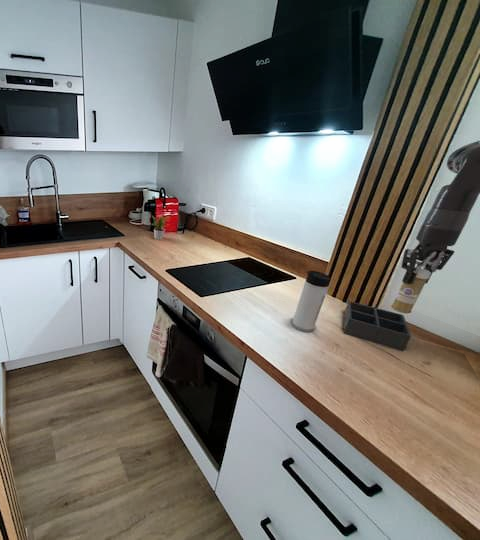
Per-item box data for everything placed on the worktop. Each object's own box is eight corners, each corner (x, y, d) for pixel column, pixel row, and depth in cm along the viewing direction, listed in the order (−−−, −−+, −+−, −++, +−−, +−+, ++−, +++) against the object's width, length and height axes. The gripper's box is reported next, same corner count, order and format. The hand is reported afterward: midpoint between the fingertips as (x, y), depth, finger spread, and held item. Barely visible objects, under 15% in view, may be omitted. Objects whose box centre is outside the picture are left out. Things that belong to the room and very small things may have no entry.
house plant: (174, 242, 179) (177, 216, 172) (154, 243, 175) (156, 217, 169) (165, 235, 192) (167, 211, 185) (146, 236, 188) (147, 212, 181)
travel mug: (288, 320, 100) (304, 268, 92) (308, 323, 99) (327, 270, 91) (294, 330, 94) (312, 276, 86) (316, 333, 93) (336, 278, 85)
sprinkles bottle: (390, 310, 86) (410, 269, 81) (390, 304, 89) (409, 265, 84) (411, 315, 83) (432, 274, 78) (410, 310, 87) (430, 269, 81)
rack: (396, 328, 97) (403, 314, 95) (403, 351, 86) (411, 336, 84) (343, 314, 105) (348, 300, 103) (343, 333, 94) (349, 318, 92)
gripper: (436, 229, 71) (407, 290, 78) (481, 229, 74) (449, 287, 80) (405, 222, 78) (380, 278, 85) (447, 221, 80) (420, 276, 87)
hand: (414, 282), depth 83 cm, fingers closed on sprinkles bottle, 4 cm apart
